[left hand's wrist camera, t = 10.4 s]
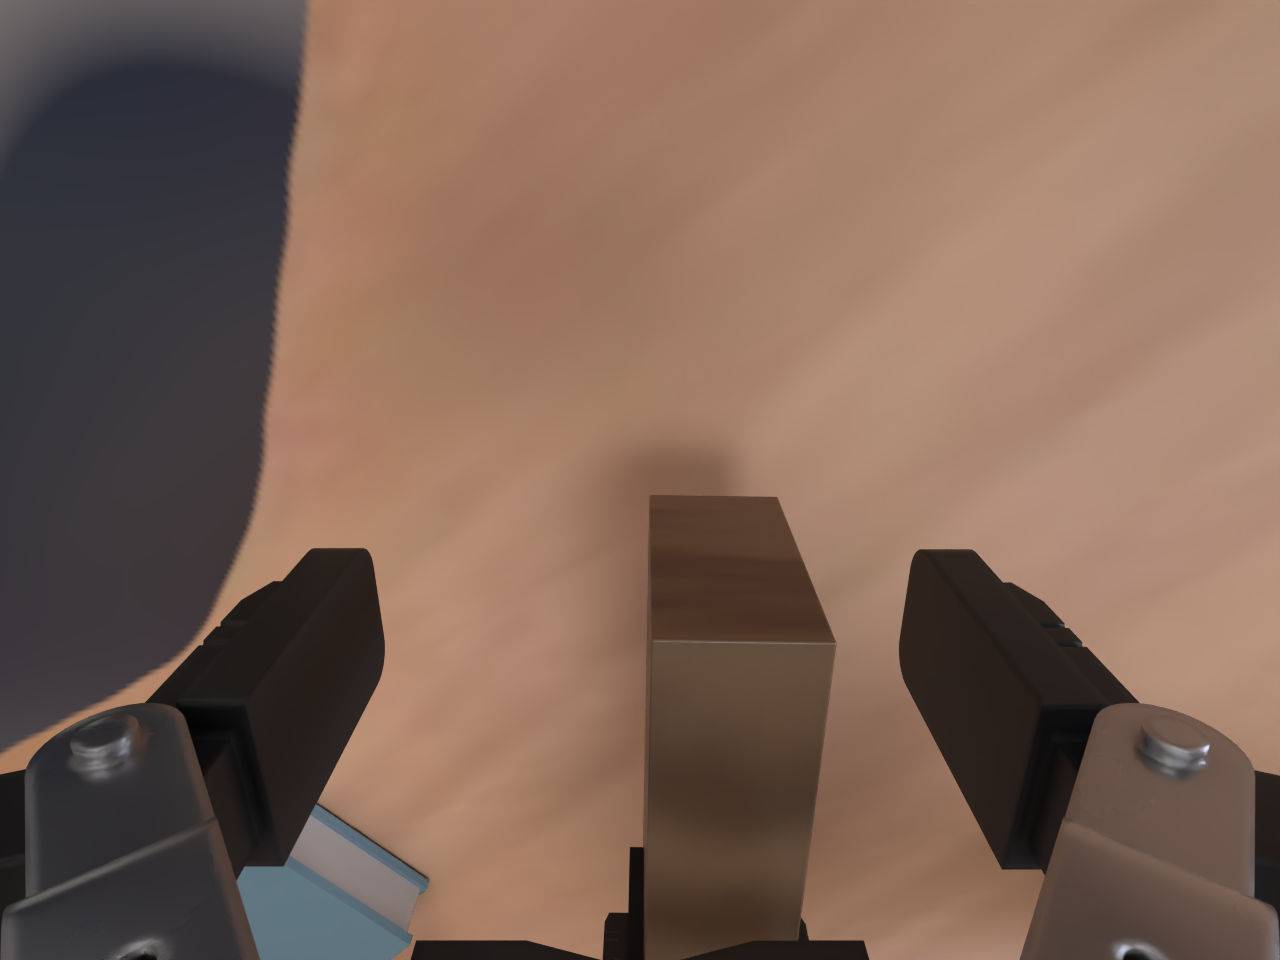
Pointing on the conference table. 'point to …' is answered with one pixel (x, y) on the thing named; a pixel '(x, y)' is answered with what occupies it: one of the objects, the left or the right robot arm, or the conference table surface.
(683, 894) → the box
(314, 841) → the book
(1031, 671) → the left robot arm
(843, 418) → the conference table surface
